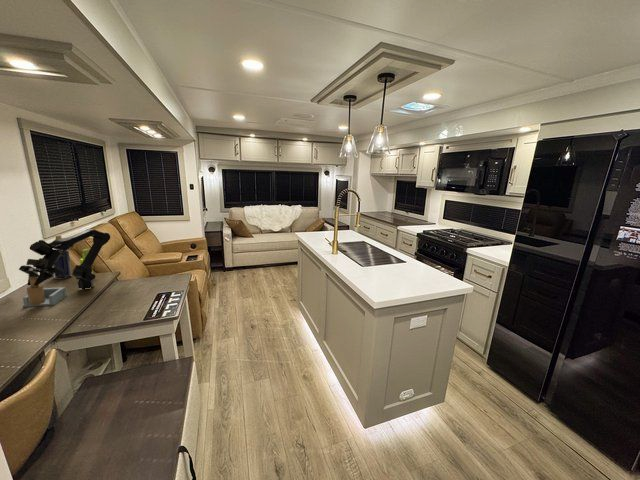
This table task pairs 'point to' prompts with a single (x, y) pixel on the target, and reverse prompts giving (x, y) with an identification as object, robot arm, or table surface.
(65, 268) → the bottle
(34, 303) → the amber bottle
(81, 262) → the soap dispenser
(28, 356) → the table surface
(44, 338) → the table surface
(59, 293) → the u rest
